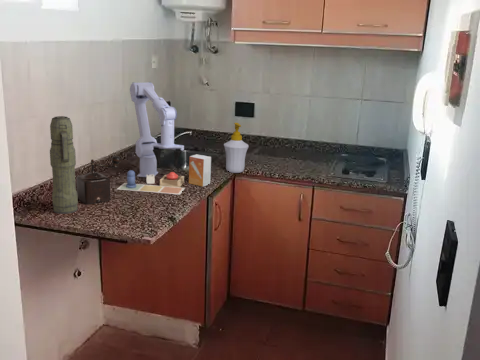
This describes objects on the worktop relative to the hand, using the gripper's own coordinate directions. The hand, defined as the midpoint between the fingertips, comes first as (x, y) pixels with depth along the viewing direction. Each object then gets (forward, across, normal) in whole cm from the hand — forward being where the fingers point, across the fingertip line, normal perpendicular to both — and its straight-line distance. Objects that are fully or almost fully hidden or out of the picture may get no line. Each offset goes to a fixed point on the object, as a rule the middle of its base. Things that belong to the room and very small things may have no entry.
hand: (167, 164), depth 219 cm
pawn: (+9, -14, -8) cm, 19 cm away
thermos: (+10, -28, -42) cm, 51 cm away
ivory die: (+10, -8, +1) cm, 13 cm away
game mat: (+10, -5, -8) cm, 13 cm away
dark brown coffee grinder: (+10, -21, -26) cm, 35 cm away
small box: (+10, +14, +6) cm, 18 cm away
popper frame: (+10, +2, +2) cm, 10 cm away
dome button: (+7, +2, +2) cm, 8 cm away
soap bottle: (+10, +26, +34) cm, 44 cm away
